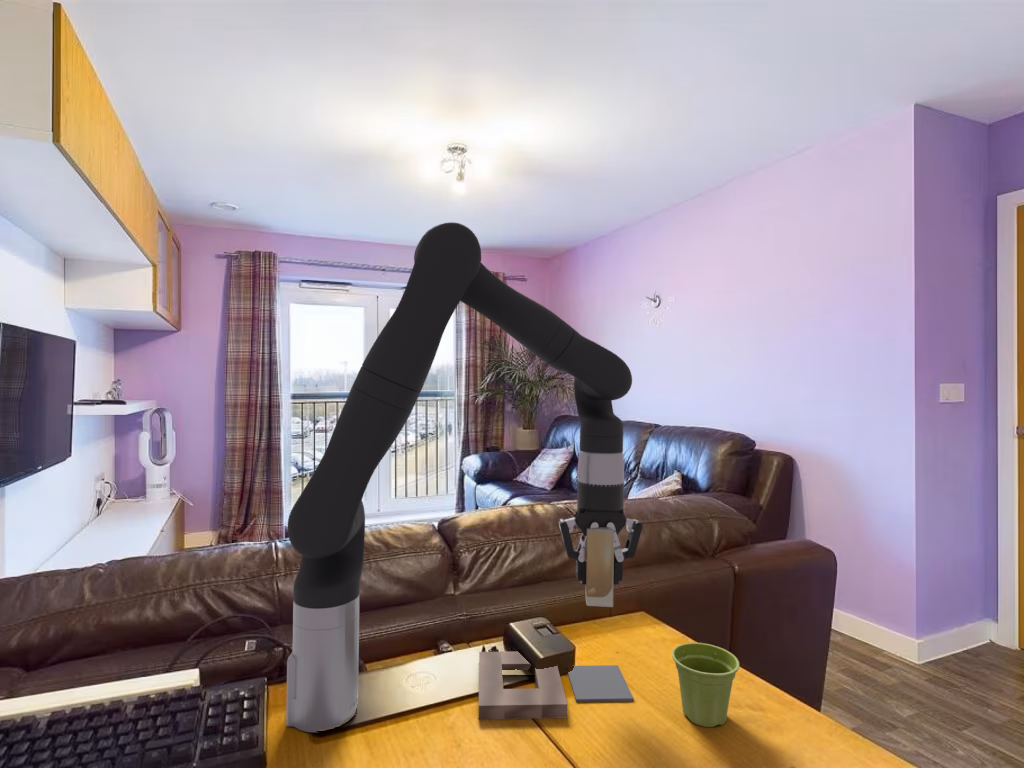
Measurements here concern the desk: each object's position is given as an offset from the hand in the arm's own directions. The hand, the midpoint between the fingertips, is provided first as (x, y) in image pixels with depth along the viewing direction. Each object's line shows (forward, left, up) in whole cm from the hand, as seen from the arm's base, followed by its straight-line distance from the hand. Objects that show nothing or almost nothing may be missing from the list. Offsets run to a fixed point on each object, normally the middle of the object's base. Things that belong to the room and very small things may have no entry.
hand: (599, 582), depth 89 cm
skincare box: (0, 0, -3) cm, 3 cm away
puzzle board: (-13, -1, -17) cm, 21 cm away
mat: (0, 0, -17) cm, 17 cm away
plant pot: (+14, -9, -17) cm, 24 cm away
